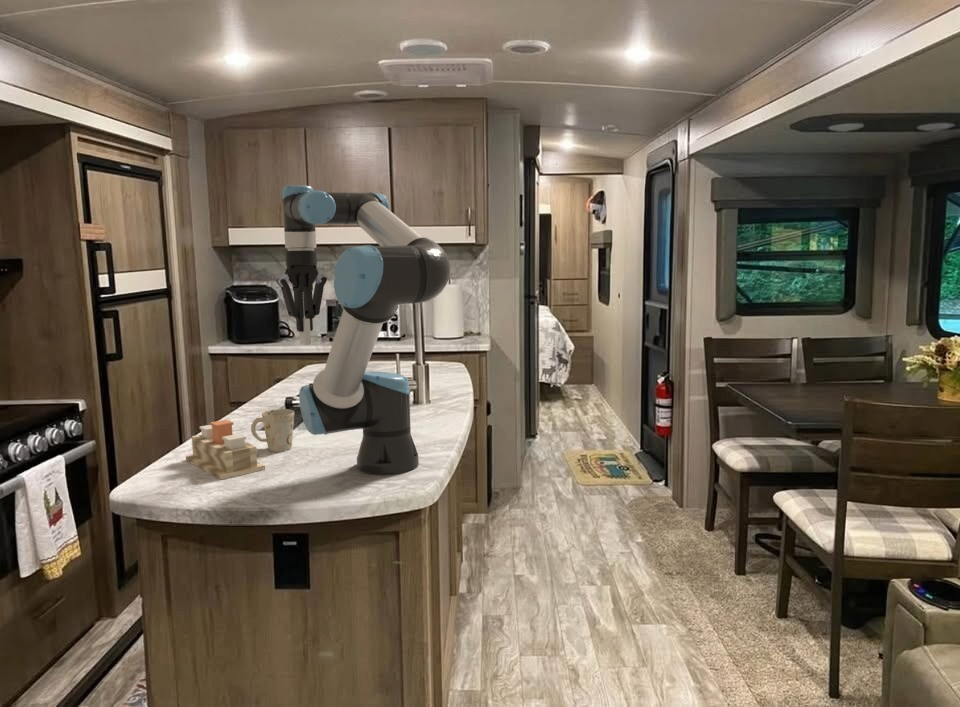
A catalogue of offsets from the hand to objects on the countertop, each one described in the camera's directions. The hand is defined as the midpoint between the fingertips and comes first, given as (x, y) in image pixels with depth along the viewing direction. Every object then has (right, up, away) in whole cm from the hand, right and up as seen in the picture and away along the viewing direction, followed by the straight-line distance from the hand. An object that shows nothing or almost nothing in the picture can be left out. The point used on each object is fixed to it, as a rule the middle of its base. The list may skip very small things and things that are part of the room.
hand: (305, 344), depth 187 cm
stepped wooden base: (-20, -30, -1) cm, 36 cm away
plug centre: (-20, -27, -2) cm, 34 cm away
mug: (-12, -28, +13) cm, 33 cm away
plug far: (-25, -28, +4) cm, 38 cm away
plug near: (-15, -30, -6) cm, 34 cm away
